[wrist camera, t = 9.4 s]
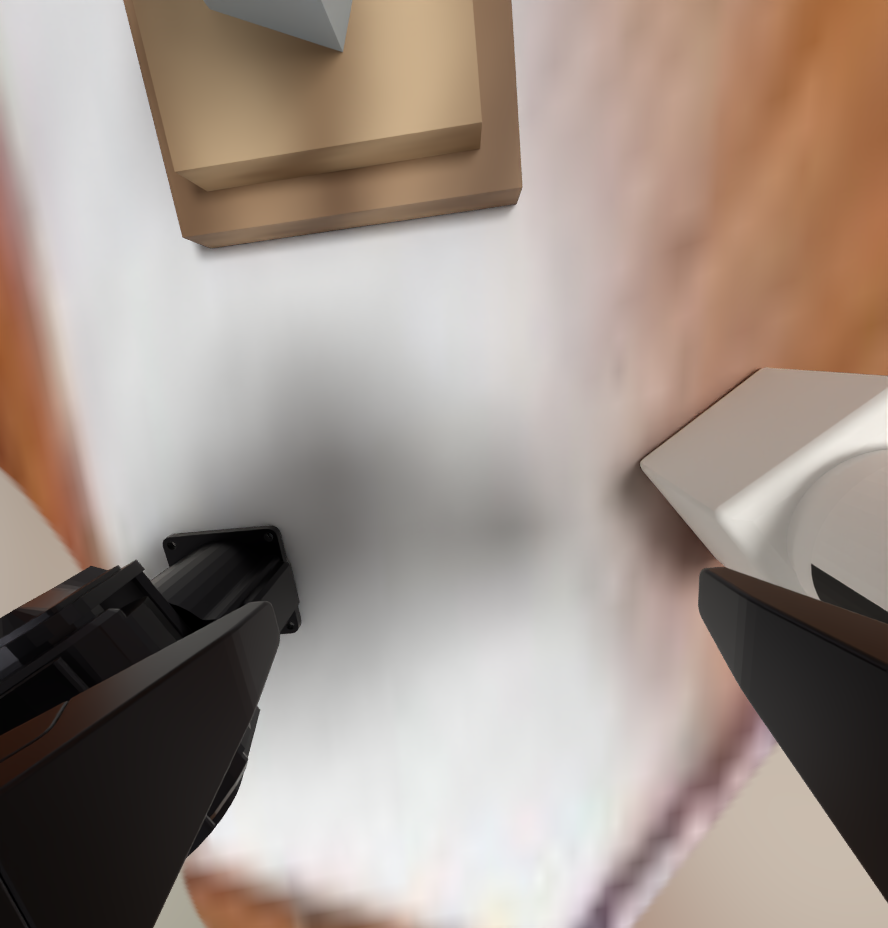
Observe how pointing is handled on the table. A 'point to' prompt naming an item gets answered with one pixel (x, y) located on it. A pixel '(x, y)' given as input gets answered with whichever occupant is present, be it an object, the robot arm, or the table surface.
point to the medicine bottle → (790, 483)
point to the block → (294, 17)
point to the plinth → (369, 184)
